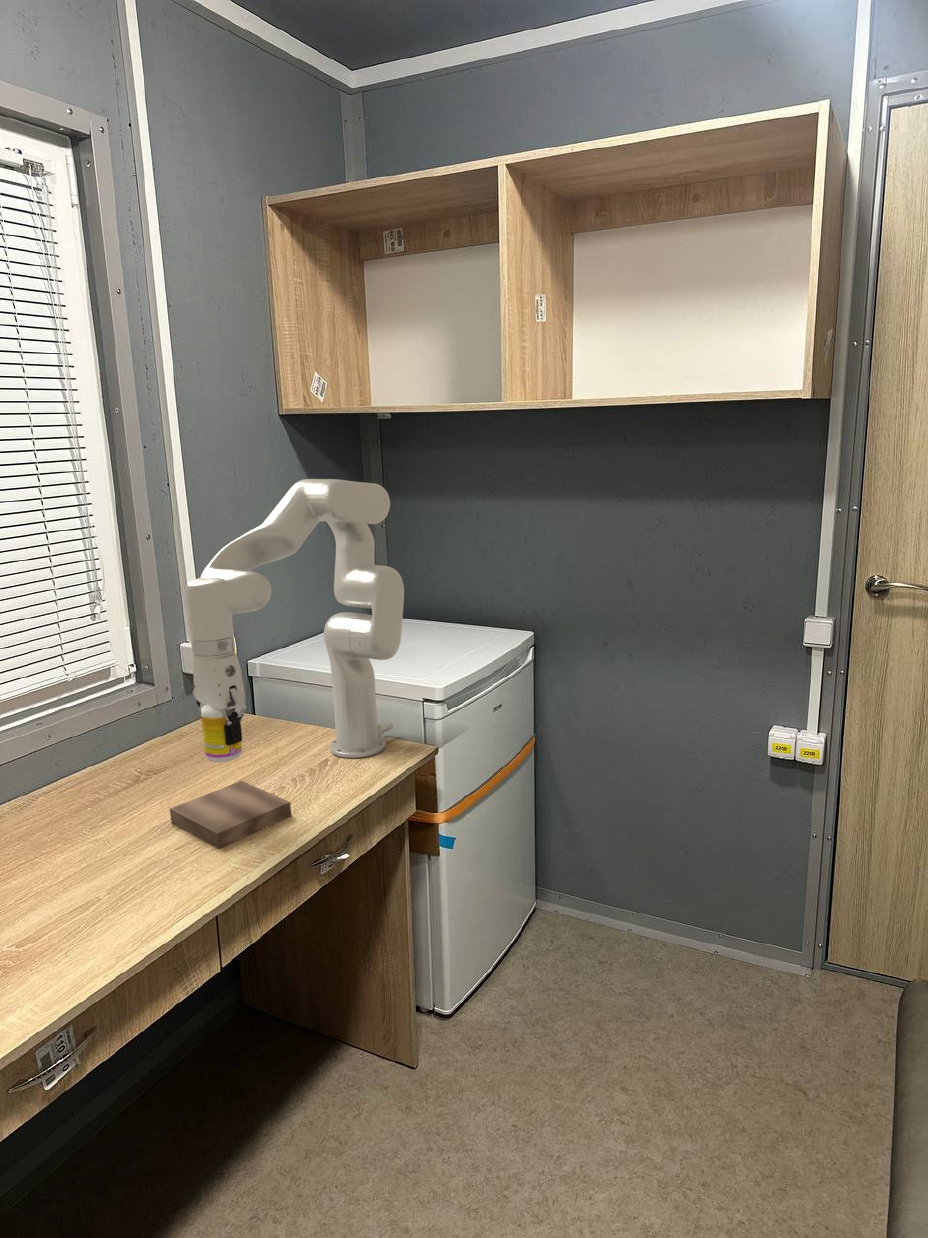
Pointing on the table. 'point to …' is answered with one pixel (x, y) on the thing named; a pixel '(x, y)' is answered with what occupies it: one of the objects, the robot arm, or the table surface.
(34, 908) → the table surface
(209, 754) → the supplement bottle
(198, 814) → the block
